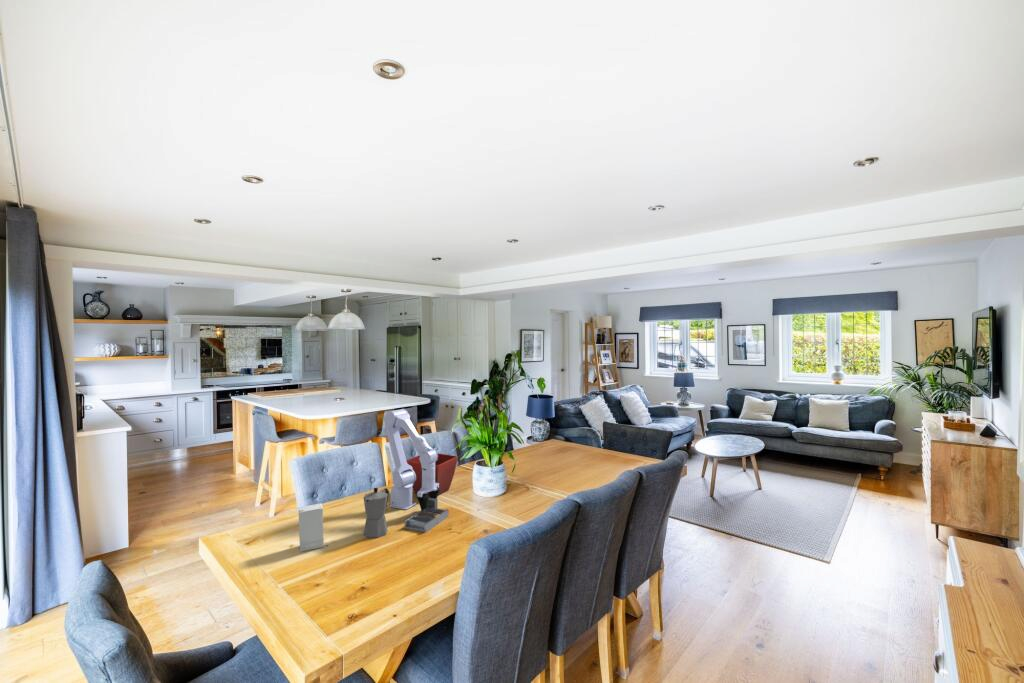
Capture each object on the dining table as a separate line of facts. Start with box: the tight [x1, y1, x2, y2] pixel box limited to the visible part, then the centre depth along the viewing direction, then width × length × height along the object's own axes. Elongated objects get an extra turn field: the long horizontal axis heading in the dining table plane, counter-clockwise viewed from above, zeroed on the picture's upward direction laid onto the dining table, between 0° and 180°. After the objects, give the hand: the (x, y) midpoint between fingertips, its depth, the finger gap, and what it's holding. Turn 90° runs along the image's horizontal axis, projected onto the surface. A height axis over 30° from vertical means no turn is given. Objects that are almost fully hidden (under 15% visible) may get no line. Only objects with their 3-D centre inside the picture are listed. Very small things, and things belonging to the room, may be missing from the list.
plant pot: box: [406, 453, 458, 496], centre depth 232 cm, size 19×19×17 cm
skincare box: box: [298, 503, 325, 552], centre depth 170 cm, size 8×6×15 cm
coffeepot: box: [363, 487, 390, 539], centre depth 183 cm, size 15×9×18 cm, turn 162°
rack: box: [404, 506, 450, 534], centre depth 193 cm, size 10×18×4 cm, turn 158°
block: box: [427, 497, 439, 509], centre depth 205 cm, size 7×2×6 cm, turn 69°
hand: (428, 508), depth 205 cm, fingers open, 7 cm apart
